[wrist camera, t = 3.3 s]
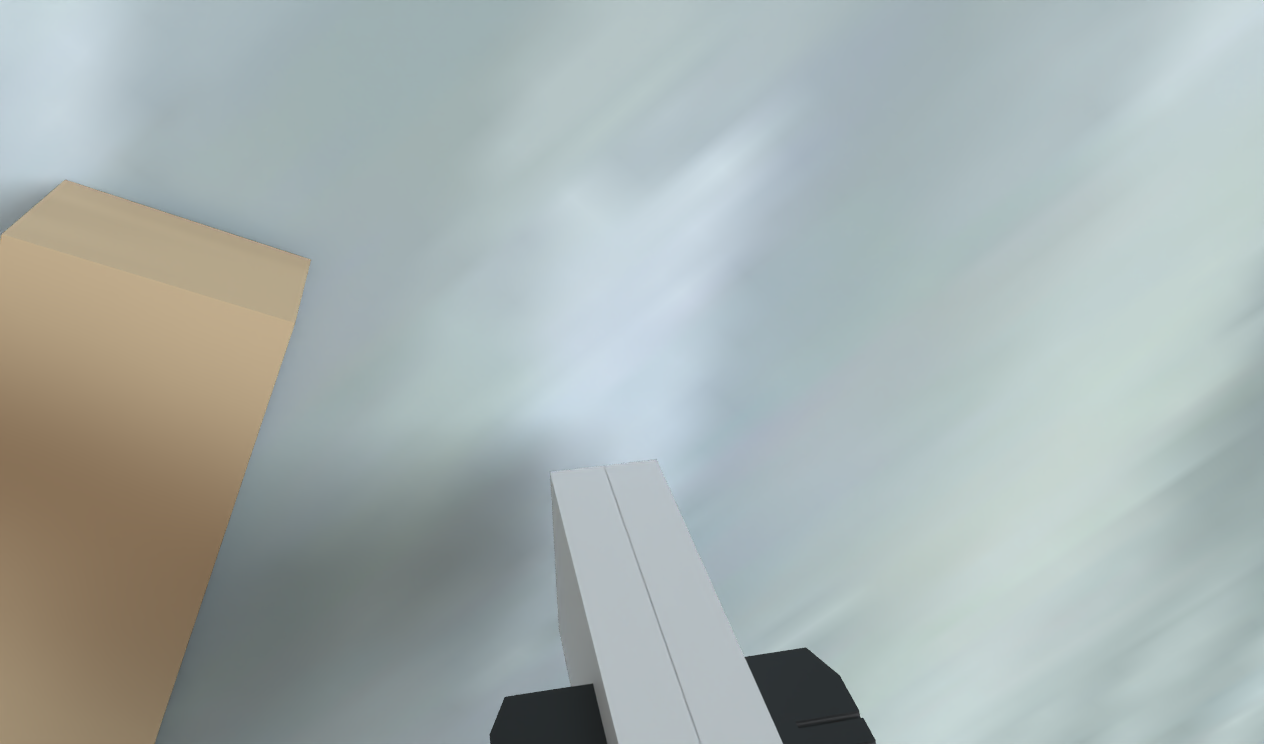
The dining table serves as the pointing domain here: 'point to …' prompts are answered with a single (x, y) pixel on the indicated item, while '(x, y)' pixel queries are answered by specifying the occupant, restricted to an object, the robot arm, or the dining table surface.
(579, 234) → the dining table surface
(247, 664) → the dining table surface
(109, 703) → the tongs swing jaw
